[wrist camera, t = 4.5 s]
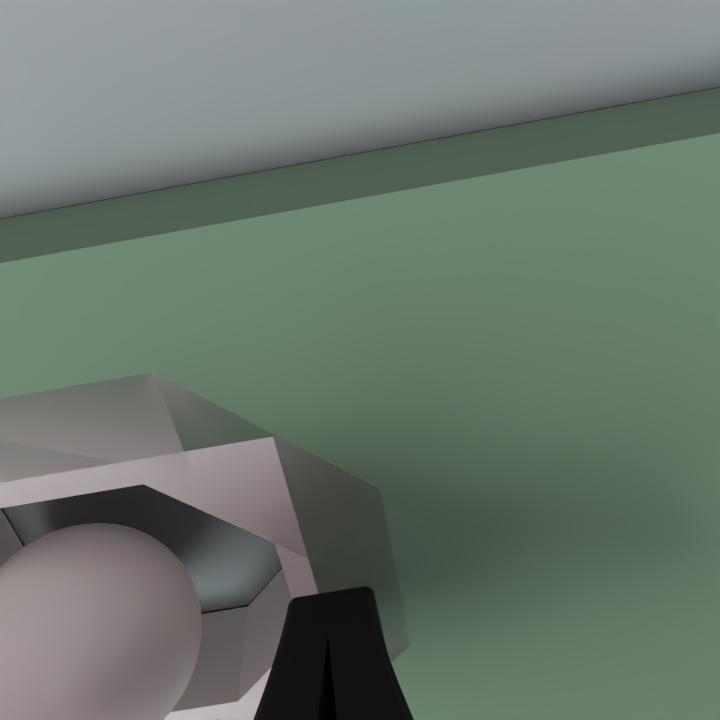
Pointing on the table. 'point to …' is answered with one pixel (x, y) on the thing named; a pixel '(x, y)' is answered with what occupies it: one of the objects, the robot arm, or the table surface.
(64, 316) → the putting mat
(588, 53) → the table surface
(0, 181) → the table surface
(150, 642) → the ball
